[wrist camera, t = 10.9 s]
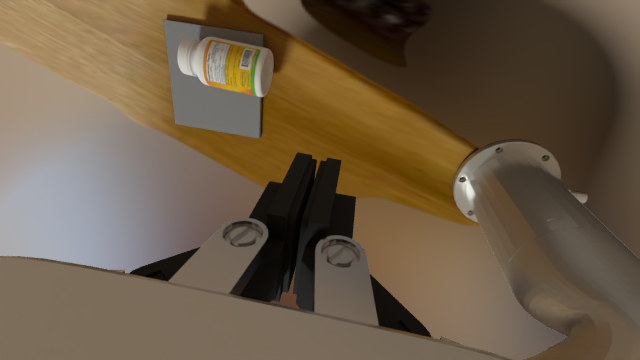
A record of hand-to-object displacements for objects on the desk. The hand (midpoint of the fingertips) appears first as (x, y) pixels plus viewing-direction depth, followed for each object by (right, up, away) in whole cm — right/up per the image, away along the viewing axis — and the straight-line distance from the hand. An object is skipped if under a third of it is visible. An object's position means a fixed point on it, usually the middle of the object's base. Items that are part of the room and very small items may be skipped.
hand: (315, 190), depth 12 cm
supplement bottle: (-6, +12, +24) cm, 27 cm away
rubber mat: (-13, +13, +29) cm, 34 cm away
